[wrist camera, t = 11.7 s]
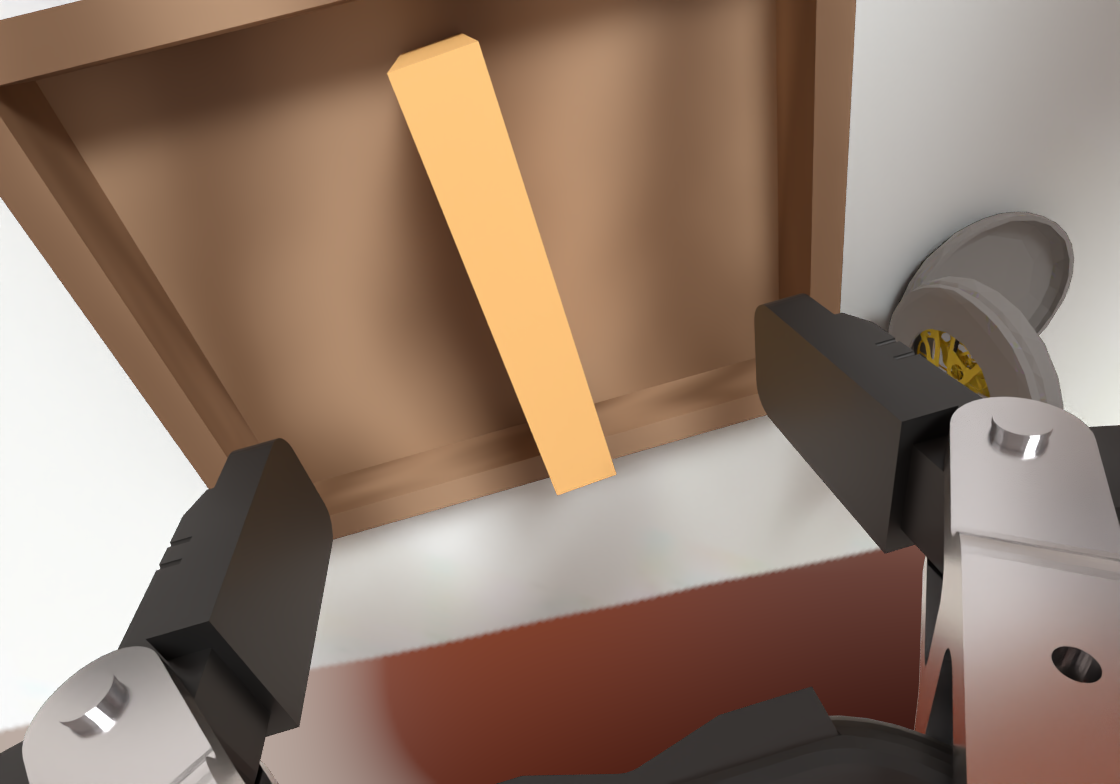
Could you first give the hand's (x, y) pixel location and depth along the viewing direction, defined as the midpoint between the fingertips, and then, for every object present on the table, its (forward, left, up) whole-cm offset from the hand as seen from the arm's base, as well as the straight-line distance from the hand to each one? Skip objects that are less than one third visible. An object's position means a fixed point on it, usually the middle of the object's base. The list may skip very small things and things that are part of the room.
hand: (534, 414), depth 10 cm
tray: (0, 0, -10) cm, 10 cm away
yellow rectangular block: (0, -5, -6) cm, 8 cm away
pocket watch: (-16, +7, -10) cm, 20 cm away
